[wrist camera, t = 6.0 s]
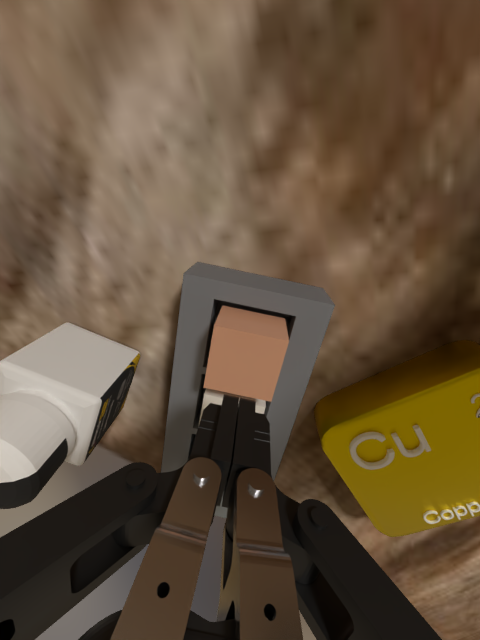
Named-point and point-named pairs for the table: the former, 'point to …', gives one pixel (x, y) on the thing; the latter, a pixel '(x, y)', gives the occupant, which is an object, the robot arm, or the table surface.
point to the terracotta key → (246, 353)
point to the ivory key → (217, 398)
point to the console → (195, 340)
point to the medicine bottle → (57, 405)
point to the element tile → (410, 440)
